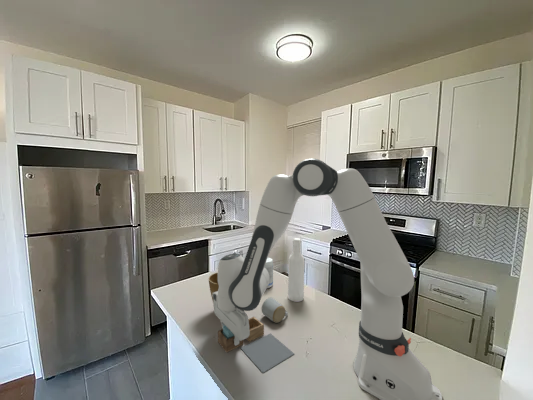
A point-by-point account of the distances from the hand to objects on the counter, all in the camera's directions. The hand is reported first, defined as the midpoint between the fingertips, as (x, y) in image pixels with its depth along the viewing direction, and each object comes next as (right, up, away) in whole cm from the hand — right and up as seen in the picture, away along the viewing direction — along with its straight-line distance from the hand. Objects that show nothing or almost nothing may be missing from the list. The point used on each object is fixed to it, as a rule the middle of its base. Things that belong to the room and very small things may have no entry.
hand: (230, 337), depth 82 cm
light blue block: (0, -2, 0) cm, 2 cm away
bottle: (+28, 0, +33) cm, 43 cm away
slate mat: (+13, -3, -4) cm, 14 cm away
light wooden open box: (+7, -2, +6) cm, 9 cm away
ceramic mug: (+17, -2, +17) cm, 24 cm away
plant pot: (-5, -1, +20) cm, 21 cm away
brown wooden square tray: (0, -2, 0) cm, 2 cm away
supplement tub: (+12, +1, +48) cm, 49 cm away
